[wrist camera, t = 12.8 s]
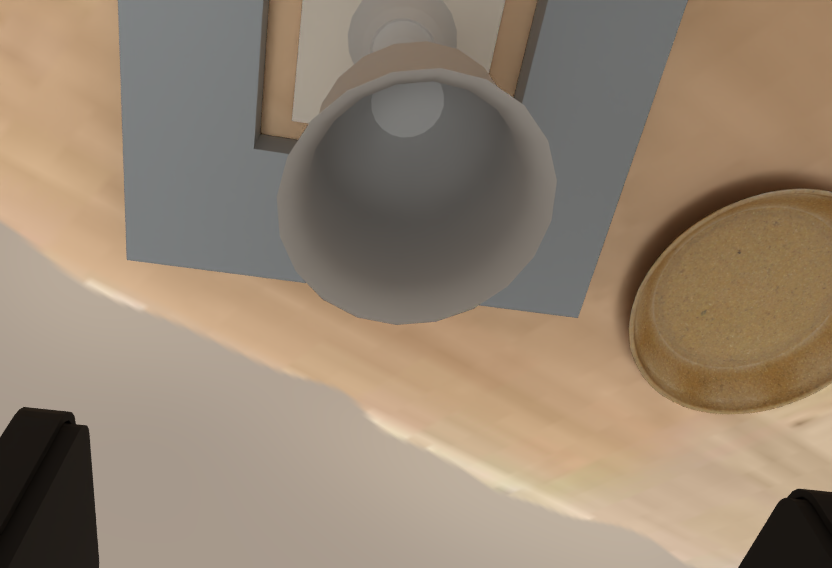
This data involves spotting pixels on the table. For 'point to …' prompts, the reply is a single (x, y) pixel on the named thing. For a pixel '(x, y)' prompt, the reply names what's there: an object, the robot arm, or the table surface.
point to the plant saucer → (741, 306)
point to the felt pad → (329, 52)
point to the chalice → (414, 175)
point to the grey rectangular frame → (266, 155)
